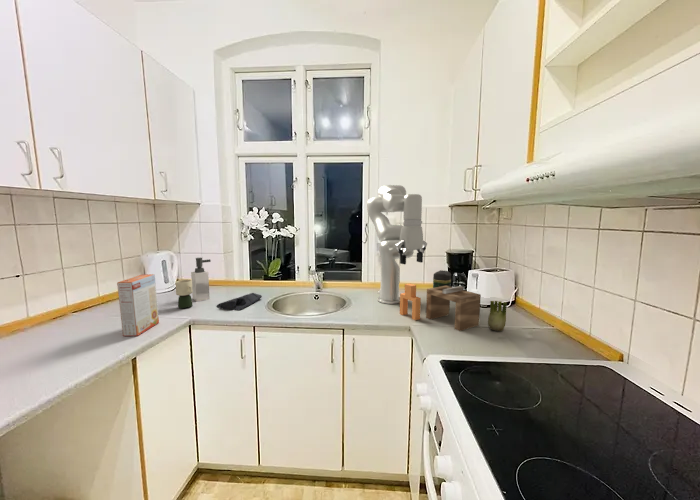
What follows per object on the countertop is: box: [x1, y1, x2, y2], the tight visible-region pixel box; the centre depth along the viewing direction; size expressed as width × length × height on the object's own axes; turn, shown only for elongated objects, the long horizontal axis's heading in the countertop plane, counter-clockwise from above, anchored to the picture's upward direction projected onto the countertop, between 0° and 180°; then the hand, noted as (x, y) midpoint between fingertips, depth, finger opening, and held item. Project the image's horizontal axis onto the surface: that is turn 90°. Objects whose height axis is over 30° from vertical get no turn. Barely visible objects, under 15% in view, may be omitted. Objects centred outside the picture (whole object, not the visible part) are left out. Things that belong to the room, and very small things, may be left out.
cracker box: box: [116, 273, 160, 337], centre depth 122 cm, size 14×6×21 cm, turn 1°
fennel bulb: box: [487, 300, 508, 332], centre depth 123 cm, size 6×5×12 cm
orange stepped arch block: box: [399, 283, 422, 321], centre depth 139 cm, size 10×3×14 cm, turn 32°
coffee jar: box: [432, 269, 452, 309], centre depth 149 cm, size 10×8×19 cm
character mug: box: [174, 279, 193, 309], centre depth 151 cm, size 11×7×13 cm, turn 61°
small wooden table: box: [425, 285, 481, 332], centre depth 133 cm, size 18×12×15 cm, turn 32°
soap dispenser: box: [190, 257, 212, 302], centre depth 165 cm, size 6×9×22 cm
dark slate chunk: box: [216, 292, 263, 311], centre depth 159 cm, size 15×22×5 cm
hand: (411, 263), depth 136 cm, fingers open, 9 cm apart
